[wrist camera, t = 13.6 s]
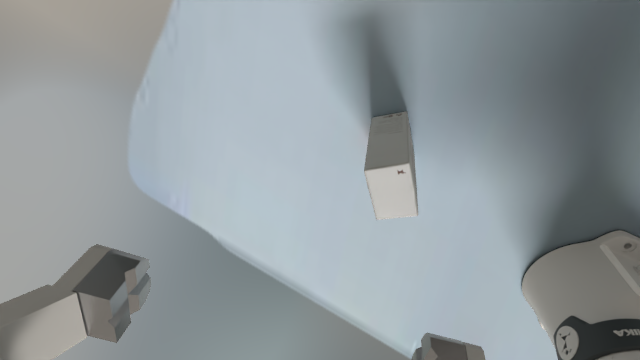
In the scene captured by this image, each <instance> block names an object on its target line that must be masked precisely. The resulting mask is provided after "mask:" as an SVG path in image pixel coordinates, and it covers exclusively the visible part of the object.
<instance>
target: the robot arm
mask: <svg viewBox="0 0 640 360" xmlns="http://www.w3.org/2000/svg"><path fill="white" fill-rule="evenodd" d="M627 243H628V244H627ZM625 244H626V245H625ZM149 268H150V265H149V259H146V258H143V257H140V256H136V255H133V254H130V253H126V252H123V251H119V250H116V249H112V248H109V247H105V246H102V245H98V244H96V245H94V246H93V247H91V248H89V250H88V251H87V252H86V253H85V254H84V255H83V256H82V257H81V258H80V259H79V260H78V261H77V262H76V263H75V264H74V265H73V266H72V267H71V268H70V269H69V270H68V271H67V272H66V273H65V274H64V275H63V276H62V277H61V278H60V279H59V280H58V281H57V282H56V283H55V284H54V285H53V286H51V285H45V286H43V287H40V288H38V289H36V290H33V291H31V292H28V293H26V294H23V295H21V296H19V297H16V298H14V299H11V300H9V301H7V302H4V303H2V304H0V360H52V359H54V358H55V357H57V356H58V355H60V354H61V353H63V352H65V351H66V350H68V349H70V348H71V347H73V346H74V345H76V344H77V343H79V342H81V341H82V340H84V339H85V338H87V336H92V337H95V338H99V339H103V340H108V341H112V342H116V343H117V342H118V340H119V339H120V338H121V336H122V335H123V333H124V332H125V330H126V329H127V328H128V326H129V325H130V323H131V318H130V314H132V313H134V312H136V311H138V310H140V309H141V307H142V306H143V304H144V303H145V301H146V299H147V296H148V294H149V292H150V287H151V278H150V277H149V275H148V274H147V273H146V272H147V270H148V269H149ZM522 292H523V295H524V297H525V299H526V301H527V302H528V303H529V305H530V306H531V307H532V309H533V310H534V312H535V313H536V315H537V318H538V321H539V323H540V325H541V327H542V328H543V329H544V330H546V332H547V334H548V336H549V338H550V340H551V342H552V343H553V345H554V347H555V349H556V352H557V357H558V360H640V238H638V237H636V236H634V235H632V234H629V233H627V232H625V231H614V232H610V233H608V234H605V235H603V236H601V237H599V238H597V239H595V240H592V241H588V242H583V243H577V244H572V245H568V246H564V247H561V248H558V249H556V250H554V251H551V252H549V253H547V254H546V255H544V256H542V257H541V258H540V259H538V260H537V261H536V262H535V263H534V264H533V265H532V266H531V267H530V268H529V269H528V271H527V272H526V274H525V276H524V278H523V282H522ZM421 343H422V347H420V348H418V349H416V350H415V352H414V354H413V356H412V360H485V355H484V351H483V349H482V348H481V347H480V346H476V345H472V344H469V343H465V342H461V341H459V340H455V339H451V338H447V337H443V336H439V335H435V334H431V333H426V334H424V336H423V338H422V340H421Z"/></svg>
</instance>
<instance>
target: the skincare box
mask: <svg viewBox="0 0 640 360" xmlns="http://www.w3.org/2000/svg"><path fill="white" fill-rule="evenodd" d="M364 172H365V176H366V181H367V185H368V189H369V193H370V196H371V200H372V204H373V208H374V212H375V216H376V219H377V220H380V219H390V218H400V217H411V216H418V203H417V187H416V173H415V157H414V149H413V143H412V137H411V131H410V125H409V119H408V113H407V112H400V113H395V114H389V115H384V116H378V117H373V118H372V119H371V126H370V133H369V139H368V147H367V154H366V161H365V169H364Z"/></svg>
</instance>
